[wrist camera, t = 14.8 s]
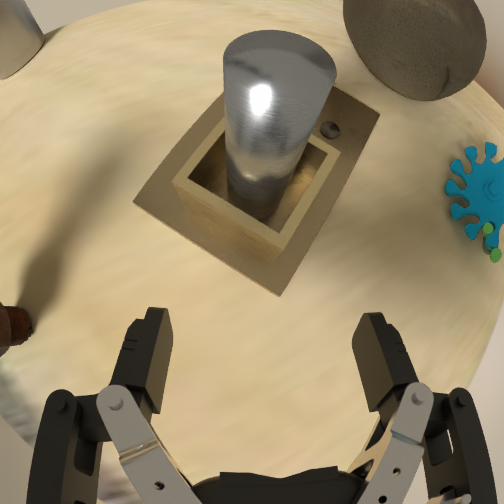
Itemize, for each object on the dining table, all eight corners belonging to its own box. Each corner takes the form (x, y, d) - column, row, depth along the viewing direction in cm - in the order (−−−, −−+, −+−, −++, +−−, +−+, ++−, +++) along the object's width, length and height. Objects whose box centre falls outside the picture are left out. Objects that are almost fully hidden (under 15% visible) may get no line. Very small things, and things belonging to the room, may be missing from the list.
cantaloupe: (440, 77, 24) (499, 6, 10) (430, 150, 22) (530, 61, 7) (343, 20, 25) (377, -69, 10) (302, 74, 22) (342, -61, 8)
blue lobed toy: (444, 136, 21) (534, 144, 14) (450, 163, 25) (526, 171, 18) (439, 250, 20) (539, 266, 13) (443, 260, 24) (525, 274, 18)
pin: (217, 202, 19) (199, 67, 7) (246, 162, 20) (261, 20, 8) (263, 230, 19) (307, 117, 7) (290, 188, 19) (351, 59, 8)
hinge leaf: (135, 205, 19) (107, 175, 14) (263, 58, 22) (269, 17, 17) (278, 296, 19) (294, 295, 14) (376, 119, 22) (402, 85, 17)
